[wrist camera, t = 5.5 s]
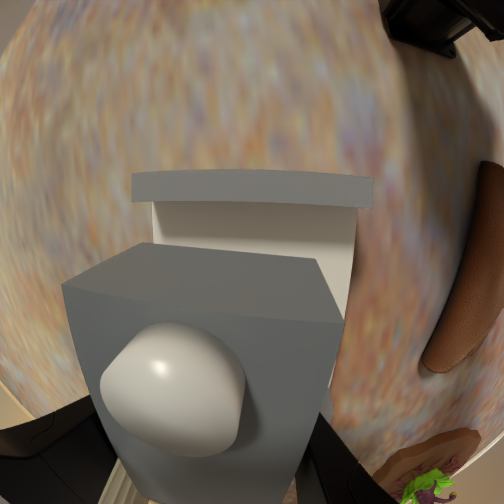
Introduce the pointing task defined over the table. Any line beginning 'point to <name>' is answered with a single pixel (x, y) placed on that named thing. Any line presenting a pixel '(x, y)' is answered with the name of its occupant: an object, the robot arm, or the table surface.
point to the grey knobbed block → (206, 366)
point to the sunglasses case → (474, 279)
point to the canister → (121, 488)
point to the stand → (262, 217)
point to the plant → (427, 467)
